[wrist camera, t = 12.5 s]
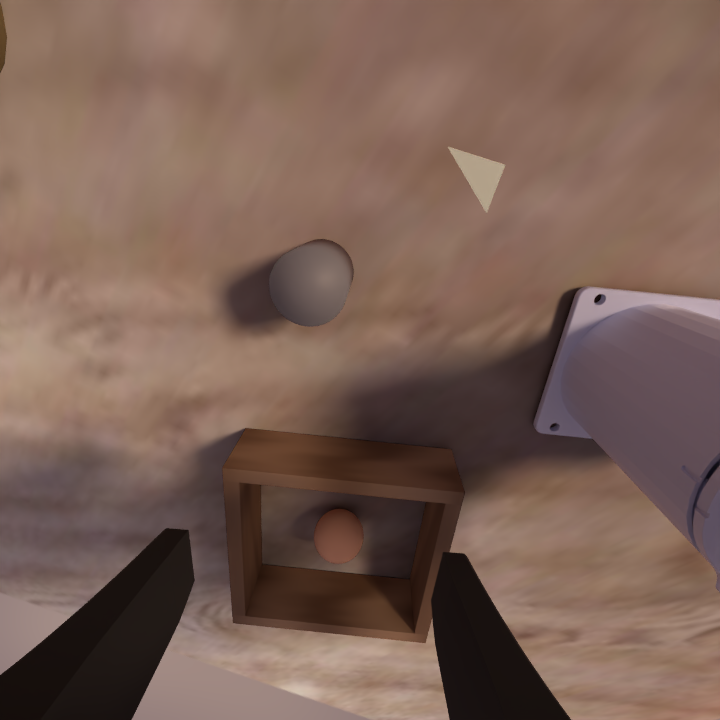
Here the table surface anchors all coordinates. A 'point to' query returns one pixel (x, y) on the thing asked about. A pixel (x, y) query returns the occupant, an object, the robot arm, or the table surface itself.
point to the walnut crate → (325, 588)
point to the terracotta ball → (338, 536)
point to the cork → (2, 39)
